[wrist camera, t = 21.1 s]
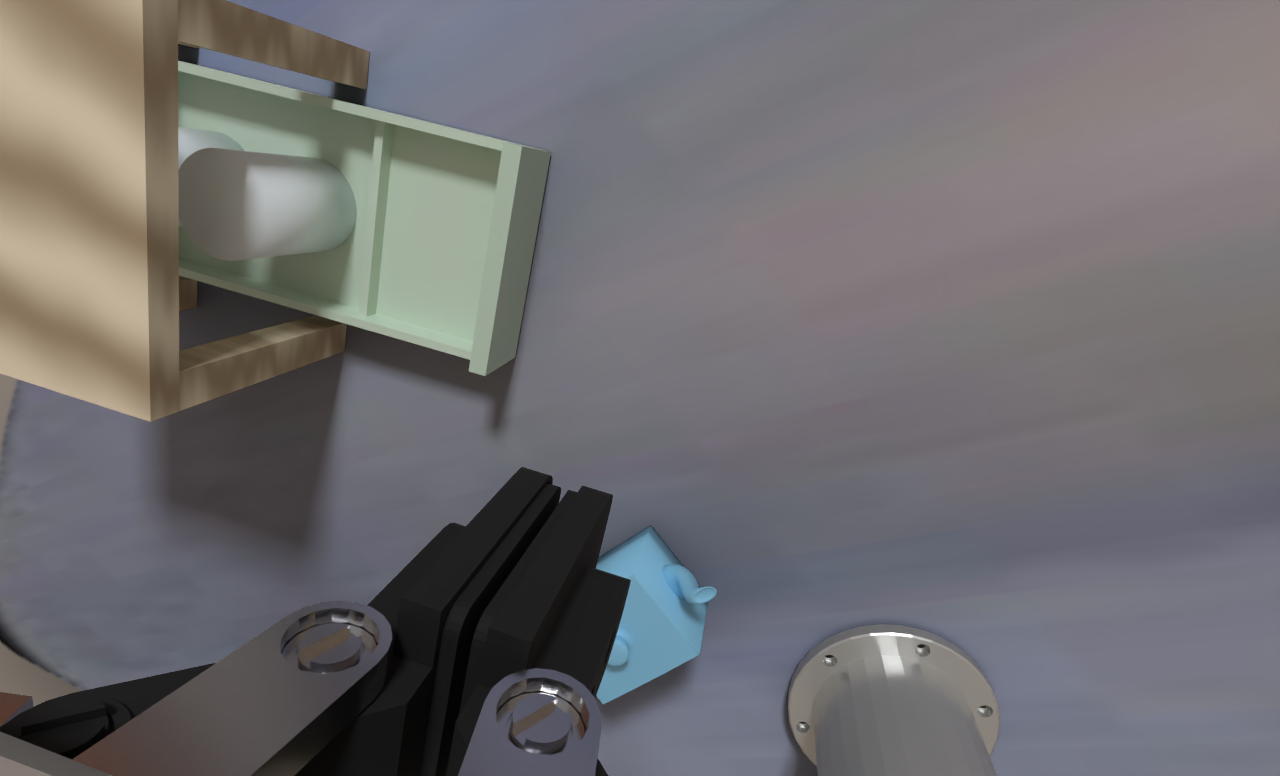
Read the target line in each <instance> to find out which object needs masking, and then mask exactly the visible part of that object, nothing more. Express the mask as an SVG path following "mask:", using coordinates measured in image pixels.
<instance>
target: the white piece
mask: <svg viewBox="0 0 1280 776" xmlns="http://www.w3.org/2000/svg"><path fill="white" fill-rule="evenodd" d="M178 180H179V220H180V222H181V224H182V226H183V228H184V230H185V232H186V233H187V235H188V236H189V237H190V239H191V240H192V241H193V242H194V243H195V244H196V245H197V246H198V247H199V248H200V249H202V250H203V251H204V252H206V253H207V254H209V255H211V256H213V257H215V258H218V259H221V260H227V261H236V260H246V259H255V258H265V257H274V256H283V255H293V254H302V253H312V252H321V251H328V250H332V249H335V248H337V247H339V246H340V245H342V244H343V243H344V242H345V241H346V240H347V239H348V238H349V236H350V235H351V233H352V231H353V228H354V225H355V221H356V201H355V197H354V194H353V191H352V188H351V186H350V184H349V182H348V181H347V179H346V178H345V176H344V175H343V174H342V173H341V172H340V171H339V170H338V169H337V168H336V167H335V166H333V165H332V164H330V163H329V162H327V161H324V160H322V159H318V158H312V157H302V156H292V155H282V154H272V153H262V152H252V151H242V150H232V149H221V148H205V149H201V150H198V151H196V152H194V153H193V154H191V155H190V156H189V157H187V158H186V159H185V161H184V162H183V163H182V165H181V167H180V168H179V170H178Z"/></svg>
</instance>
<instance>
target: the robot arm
mask: <svg viewBox="0 0 1280 776" xmlns="http://www.w3.org/2000/svg"><path fill="white" fill-rule="evenodd" d="M552 481H553V478H552V476H550V475H546V474H543V473H540V472H537V471H533V470H530V469H527V468H524V467H521V468H520V469H519V470H518V471H517V472H516V473H515V474H514V475H513V476H512V478H511V479H510V480H509V481H508V482H507V483H506V484H505V485H504V486H503V487H502V488H501V489H500V490H499V492H498V493H497V494H496V495H495V496H494V497H493V498H492V499H491V500H490V501H489V502H488V503H487V504H486V506H485V507H484V508H483V509H482V510H481V511H480V512H479V513H478V514H477V515H476V516H475V517H474V518H473V520H472V521H471V522H470V523H469V524H468V525H467V526H462V525H459V524H456V523H450V524H448V525H447V526H446V527H444V528H443V529H442V530H441V532H440V533H439V534H438V535H437V536H436V537H435V538H434V539H433V540H432V541H431V542H430V543H429V544H428V545H427V546H426V547H425V548H424V549H423V550H422V551H421V552H420V553H419V554H418V555H417V556H416V557H415V558H414V559H413V560H412V561H411V562H410V563H409V564H408V565H407V566H406V567H405V568H404V569H403V570H402V571H401V572H400V573H399V574H398V575H397V576H396V577H395V578H394V579H393V580H392V581H391V582H390V583H389V584H388V585H387V586H386V587H385V588H384V589H383V590H382V591H381V592H380V593H379V594H378V595H377V596H376V597H375V598H374V599H373V600H372V601H371V602H370V603H369V604H368V605H364V604H361V603H358V602H350V601H340V600H339V601H328V602H320V603H316V604H313V605H309V606H306V607H303V608H301V609H299V610H297V611H295V612H293V613H291V614H289V615H287V616H286V617H284V618H283V619H281V620H280V621H278V622H277V623H275V624H274V625H272V626H271V627H269V628H268V629H266V630H265V631H263V632H262V633H260V634H259V635H257V636H256V637H254V638H253V639H251V640H250V641H248V642H247V643H245V644H244V645H242V646H241V647H239V648H238V649H236V650H235V651H233V652H232V653H230V654H229V655H227V656H226V657H224V658H223V659H221V660H220V661H218V662H217V663H213V664H208V665H204V666H199V667H194V668H189V669H185V670H180V671H175V672H170V673H166V674H161V675H156V676H151V677H147V678H142V679H137V680H133V681H128V682H123V683H118V684H114V685H109V686H104V687H99V688H95V689H90V690H85V691H80V692H76V693H72V694H68V695H65V696H62V697H58V698H55V699H52V700H48V701H45V702H43V703H41V704H39V705H37V706H35V707H33V699H32V696H26V695H18V694H11V693H4V692H0V776H608V775H607V773H606V771H605V770H604V768H603V766H602V765H601V763H600V761H599V760H598V758H597V757H598V749H599V742H600V734H601V711H600V709H599V706H598V704H597V702H596V699H595V698H596V695H597V692H598V689H599V686H600V684H601V681H602V678H603V675H604V672H605V669H606V667H607V664H608V661H609V658H610V654H611V651H612V648H613V645H614V642H615V638H616V635H617V632H618V628H619V625H620V621H621V617H622V614H623V610H624V606H625V603H626V599H627V595H628V591H629V587H630V582H631V580H630V579H627V578H624V577H620V576H617V575H614V574H611V573H608V572H605V571H602V570H599V569H596V565H597V561H598V557H599V553H600V549H601V545H602V541H603V537H604V533H605V529H606V524H607V520H608V516H609V512H610V508H611V504H612V498H613V495H611V494H608V493H605V492H602V491H598V490H595V489H592V488H589V487H585V486H582V487H581V488H580V490H579V491H578V493H577V492H574V491H571V490H568V491H567V493H566V494H565V496H564V497H563V498H562V500H561V501H560V503H559V499H560V494H561V488H560V487H558V486H555V485H552ZM788 713H789V723H790V726H791V729H792V732H793V735H794V738H795V740H796V741H797V743H798V745H799V746H800V748H801V750H802V751H803V753H804V754H805V755H806V756H807V757H808V758H809V760H810V761H811V762H812V763H813V764H814V765H815V766H816V767H817V775H818V776H997V775H996V772H995V769H994V767H993V764H992V762H991V759H990V755H991V754H992V752H993V750H994V747H995V744H996V742H997V739H998V735H999V727H1000V716H999V708H998V703H997V701H996V698H995V696H994V693H993V691H992V688H991V686H990V684H989V682H988V680H987V678H986V676H985V675H984V673H983V671H982V670H981V669H980V668H979V666H978V665H977V664H976V663H975V662H974V660H973V659H972V658H971V657H970V656H968V655H967V654H966V653H965V652H964V651H962V650H961V649H960V648H959V647H957V646H956V645H954V644H953V643H951V642H949V641H947V640H945V639H944V638H942V637H940V636H938V635H935V634H932V633H929V632H927V631H924V630H921V629H917V628H912V627H907V626H902V625H885V624H877V625H868V626H860V627H856V628H852V629H849V630H846V631H842V632H839V633H837V634H835V635H833V636H831V637H829V638H827V639H825V640H823V641H822V642H821V643H819V644H818V645H817V646H816V647H814V648H813V649H812V650H810V651H809V652H808V654H807V655H806V656H805V657H804V658H803V659H802V661H801V662H800V663H799V665H798V667H797V668H796V670H795V672H794V674H793V676H792V679H791V683H790V687H789V691H788Z"/></svg>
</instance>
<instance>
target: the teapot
mask: <svg viewBox="0 0 1280 776" xmlns="http://www.w3.org/2000/svg"><path fill="white" fill-rule="evenodd" d="M596 569H599V570H602V571H605V572H608V573H611V574H614V575H617V576H620V577H624V578H627V579H630V580H631V582H630V587H629V591H628V595H627V599H626V603H625V606H624V610H623V614H622V617H621V621H620V625H619V628H618V632H617V635H616V638H615V642H614V645H613V648H612V651H611V654H610V658H609V661H608V664H607V667H606V669H605V672H604V675H603V678H602V681H601V684H600V686H599V689H598V692H597V695H596V696H597V698H598V699H599V700H600V701H601V703H602V704H605V703H607V702H609V701H612V700H614V699H616V698H618V697H620V696H622V695H623V694H625V693H627V692H629V691H631V690H633V689H635V688H637V687H639V686H641V685H643V684H645V683H647V682H649V681H651V680H653V679H655V678H657V677H659V676H660V675H662V674H664V673H666V672H668V671H670V670H672V669H674V668H676V667H678V666H679V665H681V664H683V663H685V662H687V661H689V660H691V659H692V658H694V657H696V656H698V655H700V649H701V643H702V636H703V630H704V624H705V617H706V611H707V605H708V601H710V600H711V599H712V598H714V596H715V595H716V593H717V591H716V589H715V588H713V587H702V588H700V586H699V585H698V583H697V581H696V579H695V577H694V576H693V575H692V574H691V572H690V571H689V570H688V569H686V568H685V567H684V566H683V565H682V564H681V562H680V561H679V560H678V559H677V557H676V556H675V555H674V554H673V552H672V551H671V550H670V548H669V547H668V546H667V545H666V543H665V542H664V541H663V540H662V538H661V537H660V536H659V534H658V533H657V532H656V531H655V529H654V528H653V527H652V526H651V525H650V526H649V527H647V528H645V529H644V530H642V531H641V532H639V533H637V534H636V535H634V536H632V537H631V538H629V539H628V540H626V541H624V542H623V543H621V544H619V545H618V546H616V547H614V548H613V549H611V550H610V551H608V552H606V553H605V554H603V555H602V556H600V557H598V561H597V565H596Z"/></svg>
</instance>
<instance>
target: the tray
mask: <svg viewBox="0 0 1280 776" xmlns="http://www.w3.org/2000/svg"><path fill="white" fill-rule="evenodd" d="M178 127H182V128H190V129H199V130H208V131H215V132H220V133H223V134H225V135H227V136H229V137H231V138H232V139H234V140H235V141H236V142H237V143H238V144H239V145H240V146H241V147H242V148H243V149H244V151H252V152H262V153H272V154H282V155H292V156H302V157H312V158H318V159H322V160H324V161H327V162H329V163H330V164H332V165H333V166H335V167H336V168H337V169H338V170H339V171H340V172H341V173H342V174H343V175H344V176H345V178H346V179H347V181H348V182H349V184H350V186H351V188H352V191H353V194H354V197H355V201H356V221H355V225H354V228H353V231H352V233H351V235H350V236H349V238H348V239H347V240H346V241H345V242H344V243H343V244H342V245H340V246H339V247H337V248H335V249H332V250H328V251H321V252H312V253H302V254H293V255H283V256H274V257H265V258H255V259H246V260H236V261H227V260H221V259H218V258H215V257H213V256H211V255H209V254H207V253H206V252H204V251H203V250H202V249H200V248H199V247H198V246H197V245H196V244H195V243H194V242H193V241H192V240H191V239H190V237H189V236H188V235H187V233H186V232H185V230H184V228H183V226H179V276H183V277H186V278H190V279H193V280H197V281H200V282H204V283H207V284H210V285H214V286H217V287H221V288H224V289H228V290H231V291H235V292H238V293H241V294H245V295H248V296H252V297H255V298H259V299H262V300H266V301H269V302H272V303H276V304H279V305H283V306H286V307H290V308H293V309H297V310H300V311H303V312H307V313H310V314H314V315H317V316H321V317H324V318H328V319H331V320H335V321H338V322H341V323H345V324H348V325H352V326H355V327H359V328H362V329H366V330H369V331H372V332H376V333H379V334H383V335H386V336H390V337H393V338H397V339H400V340H403V341H407V342H410V343H414V344H417V345H421V346H424V347H428V348H431V349H434V350H438V351H441V352H445V353H448V354H452V355H455V356H459V357H462V358H465V359H469V360H470V365H469V372H473V373H476V374H479V375H483V376H486V375H488V374H490V373H491V372H493V371H494V370H496V369H498V368H499V367H501V366H502V365H504V364H506V363H507V362H509V361H510V360H512V359H514V358H515V356H516V350H517V345H518V339H519V333H520V327H521V322H522V316H523V310H524V304H525V299H526V293H527V287H528V281H529V276H530V270H531V264H532V258H533V253H534V247H535V241H536V235H537V230H538V224H539V218H540V212H541V207H542V201H543V195H544V189H545V184H546V178H547V172H548V166H549V161H550V155H551V152H549V151H545V150H541V149H537V148H533V147H529V146H525V145H520V144H516V143H512V142H508V141H504V140H500V139H496V138H492V137H488V136H484V135H480V134H476V133H472V132H468V131H464V130H460V129H455V128H451V127H447V126H443V125H439V124H435V123H431V122H427V121H423V120H419V119H415V118H411V117H407V116H403V115H399V114H394V113H390V112H386V111H382V110H378V109H374V108H370V107H366V106H362V105H358V104H354V103H350V102H346V101H342V100H338V99H334V98H329V97H325V96H321V95H317V94H313V93H309V92H305V91H301V90H297V89H293V88H289V87H285V86H281V85H277V84H273V83H269V82H264V81H260V80H256V79H252V78H248V77H244V76H240V75H236V74H232V73H228V72H224V71H220V70H216V69H212V68H208V67H203V66H199V65H195V64H191V63H187V62H183V61H179V60H178Z"/></svg>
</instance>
